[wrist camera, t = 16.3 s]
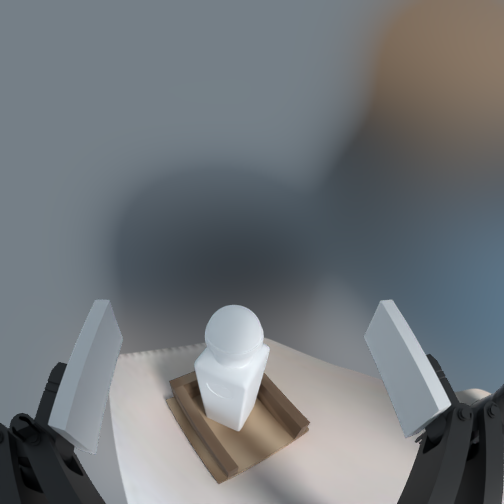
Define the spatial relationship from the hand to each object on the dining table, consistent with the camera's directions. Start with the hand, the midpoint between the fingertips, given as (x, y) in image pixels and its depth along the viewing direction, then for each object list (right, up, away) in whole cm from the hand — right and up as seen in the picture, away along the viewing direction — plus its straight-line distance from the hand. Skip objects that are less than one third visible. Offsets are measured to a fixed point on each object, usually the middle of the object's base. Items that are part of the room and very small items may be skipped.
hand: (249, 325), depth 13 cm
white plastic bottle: (-3, -21, +24) cm, 32 cm away
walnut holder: (-2, -22, +24) cm, 33 cm away
